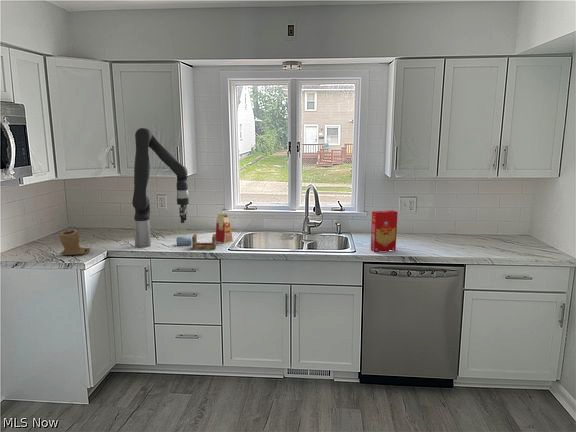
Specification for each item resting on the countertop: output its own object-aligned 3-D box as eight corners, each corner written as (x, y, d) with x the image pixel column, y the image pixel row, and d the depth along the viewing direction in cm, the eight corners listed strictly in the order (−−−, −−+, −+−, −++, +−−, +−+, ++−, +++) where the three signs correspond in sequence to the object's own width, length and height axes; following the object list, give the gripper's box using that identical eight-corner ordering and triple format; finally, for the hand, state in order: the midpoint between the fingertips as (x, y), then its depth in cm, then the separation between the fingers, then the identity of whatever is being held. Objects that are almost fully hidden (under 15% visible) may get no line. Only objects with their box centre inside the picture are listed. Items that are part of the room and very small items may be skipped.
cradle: (192, 249, 277) (192, 237, 276) (194, 246, 286) (193, 234, 284) (214, 249, 278) (214, 237, 277) (216, 245, 287) (215, 233, 286)
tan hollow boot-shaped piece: (57, 257, 258) (54, 232, 256) (66, 252, 270) (64, 228, 267) (83, 257, 259) (81, 232, 256) (91, 252, 271) (89, 228, 268)
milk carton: (233, 241, 300) (232, 212, 297) (224, 243, 292) (223, 214, 289) (222, 239, 305) (221, 211, 301) (213, 242, 297) (213, 213, 293)
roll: (176, 246, 287) (175, 239, 285) (177, 242, 292) (177, 235, 289) (191, 246, 288) (190, 239, 285) (192, 242, 293) (191, 235, 290)
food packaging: (374, 252, 273) (376, 212, 269) (370, 250, 278) (372, 211, 274) (395, 250, 277) (397, 211, 273) (391, 248, 282) (393, 210, 278)
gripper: (178, 195, 291) (179, 219, 294) (174, 198, 277) (176, 223, 280) (190, 195, 291) (191, 219, 294) (186, 198, 277) (187, 223, 280)
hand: (183, 221), depth 287 cm, fingers open, 8 cm apart
